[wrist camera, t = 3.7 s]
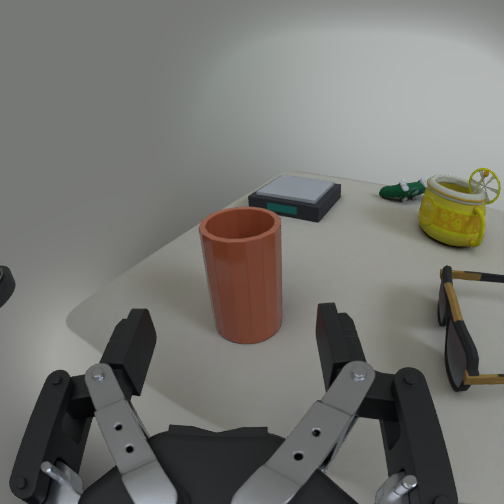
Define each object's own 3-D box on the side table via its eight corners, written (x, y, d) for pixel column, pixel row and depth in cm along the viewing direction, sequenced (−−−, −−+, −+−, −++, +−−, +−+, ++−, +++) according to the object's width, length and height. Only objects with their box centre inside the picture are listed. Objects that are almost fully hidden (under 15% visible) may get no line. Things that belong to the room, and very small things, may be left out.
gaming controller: (384, 209, 54) (402, 195, 48) (376, 190, 55) (394, 175, 49) (416, 202, 56) (435, 190, 51) (409, 185, 57) (426, 172, 51)
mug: (403, 220, 45) (412, 146, 39) (454, 217, 46) (464, 150, 40) (447, 263, 34) (466, 173, 28) (499, 255, 35) (519, 177, 29)
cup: (225, 352, 26) (209, 249, 21) (208, 308, 31) (193, 215, 26) (292, 332, 27) (294, 230, 22) (267, 293, 32) (263, 201, 27)
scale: (318, 222, 46) (318, 204, 45) (248, 209, 52) (247, 192, 50) (340, 196, 55) (341, 181, 53) (280, 187, 60) (280, 172, 59)
